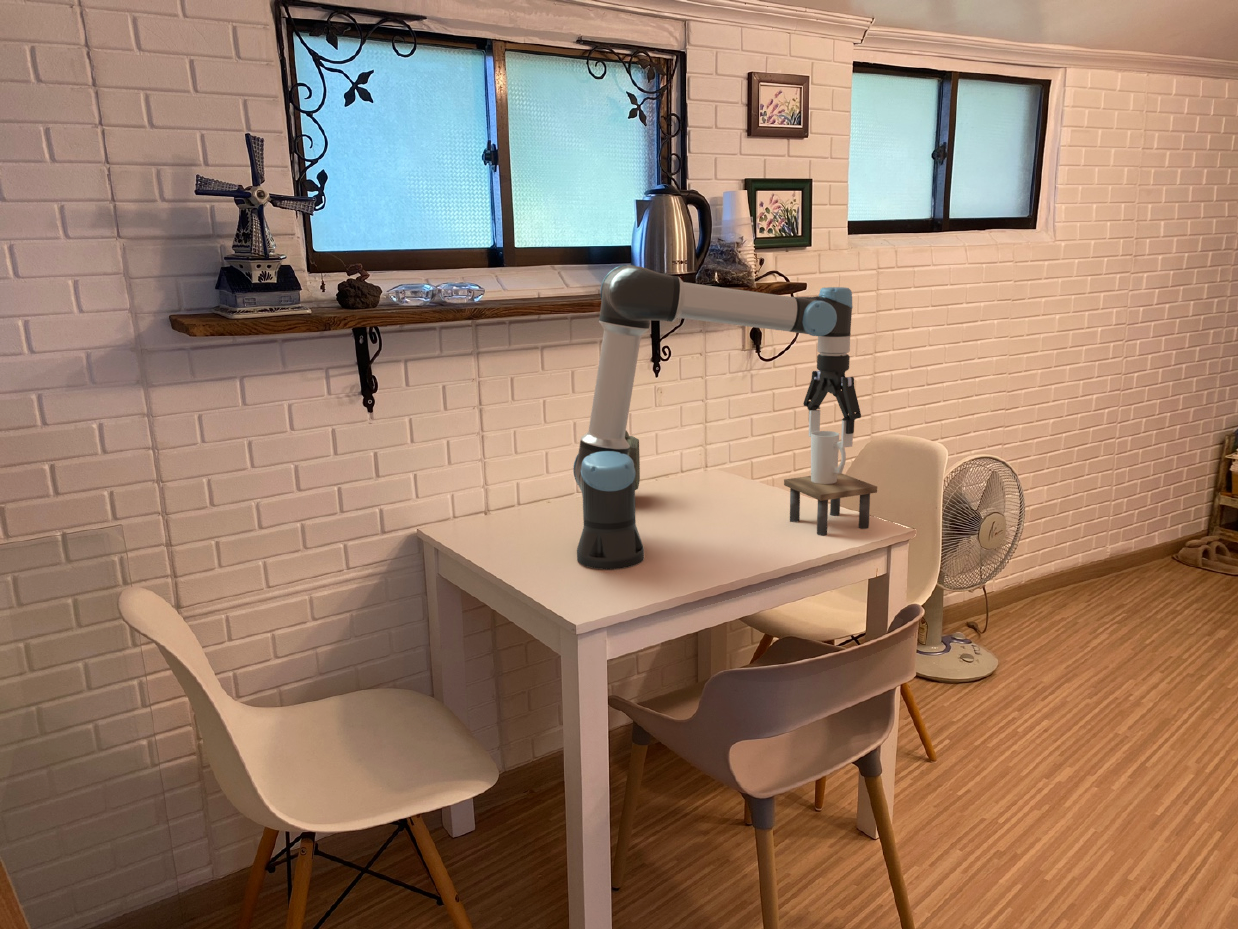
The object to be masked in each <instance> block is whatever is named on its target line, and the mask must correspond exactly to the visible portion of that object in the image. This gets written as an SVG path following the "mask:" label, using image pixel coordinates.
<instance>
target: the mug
mask: <svg viewBox="0 0 1238 929" xmlns="http://www.w3.org/2000/svg"><path fill="white" fill-rule="evenodd" d="M845 448H846V447H844V448H842V447H841V440H840V433H839V432H836V431H832V430H820V431H816V432H812V433H811V437H810V476H811V481H812V482H813V483H817V484H833V483H836V482H837V474H841V473H842V474H843V472H844V468H845V465H846V459H847V457H846V456H847V455H846V454H847V453H846V449H845ZM839 452H840V456H841V459H840V463H839Z"/></svg>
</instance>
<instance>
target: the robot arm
mask: <svg viewBox="0 0 1238 929" xmlns="http://www.w3.org/2000/svg"><path fill="white" fill-rule="evenodd" d="M600 300H601V302H600V303H601V304H600V312H599V317H598V323H599V324H600V325H601V327H602V329H603V335H602V342H601V348H600V355H599V361H598V367H597V372H596V373H597V375H596V380H595V386H594V393H593V394H594V395H593V399H592V405H591V406H592V408H591V412H590V420H589V426H588V431H587V432H586V433H585V434H583V436H581V437H580V441H579V448H578V453H577V455H576V457H575V459H574V462H573V469H572V470H573V471H572V472H573V477H574V480H575V482H576V484H577V486H578V488H579V490H580V491H581V495H582V514H583V515H582V517H583V528H582V531H581V534H580V538H579V542H578V545H577V547H576V548H577V549H576V561H577V562H578V563H579V564H580V565H581V566H584V567H586V568H590V569H596V570H621V569H626V568H627V569H628V568H631V567H634V566H636V565H639V564H640V563H642V562H643V561H644V559H645V547H644V545H643V542H642V539H641V536H640V534H639V531H638V528H637V521H636V490H635V468H634V463H633V460H632V459H631V458H630V457H629V456H628V454H629V448H630V445H629V444H628V442H627V441H626V439H625V432H626V431H627V427H628V426H627V425H628V418H629V412H630V407H631V401H632V400H631V399H632V395H633V387H634V382H635V376H636V370H637V364H638V357H639V352H640V345H641V340H642V336H644V335H645V333H646V332H648V331H650V326H651V325H650V324H651V321H660V322H661V321H662V322H671V323H674V322H675V321H676V320H678V319H686V320H692V321H693V320H695V321H703V322H709V323H710V322H711V323H718V324H727V325H734V326H742V327H750V328H757V329H765V330H766V329H767V330H775V331H781V332H782V331H783V332H789V333H795V334H797V333H798V334H803V335H808V336H812V337H817V345H816V346H817V347H816V348H817V349H816V350H817V352H818V355H817V356H816V369H817V370H812V371H811V380H810V382H809V385H808V389H807V391H806V394H805V397H804V401H803V404H802V405H803V406H804V407H807V410H808V438H809V437H810V438H811V433H812V432H816V431H821V429H820V428H821V405H822V403H823V402H824V399H825V398H826V396H827V395H828V393H829V394H831V395H833V397H835V399H836V401H837V403H838V406H839V409H840V411H841V413H842V416H843V418H842V419H841V434H840V436H841V437H840V441H841V447H842V448H851V447H853V443H854V442H853V439H854V432H855V421H856V420H857V419H861V417H862V413H861V410H860V409H861V408H860V405H859V400H858V397H857V392H856V389H855V378H854V376H846V372H847V371H849V369H850V360H851V359H850V358H851V357H850V355H849V354H848V353H850V351H851V329H852V315H853V313H852V312H853V307H854V306H853V292H852V290H851V289H850V288H849V287H843V286H841V287H839V286H834V287H832V286H831V287H830V286H828V287H822V288H820V290H819V294H818V295H815V296H788V295H787V296H786V295H780V294H775V293H774V294H773V293H766V292H765V293H764V292H758V291H751V290H744V289H743V290H742V289H737V288H728V287H720V286H712V285H708V284H706V285H705V284H700V283H699V284H698V283H692V282H686V281H685V282H684V281H683V279H681V278H680V277H679V276H675V275H669V274H666V273H665V274H664V273H660V272H658V271H655V270H651V269H649V268H646V267H643V266H637V265H634V264H623V265H619V266H617V267H614V268H613V269H612V270H610V271H609V272H608V273H607V274H606V275H605V277H604V278H603V280H602V282H601V285H600Z"/></svg>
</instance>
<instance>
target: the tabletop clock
mask: <svg viewBox="0 0 1238 929" xmlns="http://www.w3.org/2000/svg"><path fill="white" fill-rule="evenodd" d="M629 434H630V433H628V431H627V430H626V432H625V439H626V441H627V442H628V444H629V445H630V448H629V454H628V456H629V457H630V458H631V459H632V460H633V463H634V468H635V491H637V490H638V489H639V486H640V482H641V481H640V480H641V478H640V477H641V467H640V465H641V464H640V460H641V459H640V440H639V438H637V437H635V436H633V435H629Z"/></svg>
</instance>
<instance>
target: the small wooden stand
mask: <svg viewBox="0 0 1238 929" xmlns="http://www.w3.org/2000/svg"><path fill="white" fill-rule="evenodd" d="M783 485H784V486H785V487H788V488H790V492H789V493H790V494H789V521H790V522H791V523H798V522H800V515H801V506H800V505H801V494H804V495H806V496H807V497H810V498H812V499H816V500H817V514H816V515H817V516H816V517H817V518H816V535H817V536H820V537H821V536H827V535H828V521H829V520H828V518H829V516H828V514H829V515H830V516H834V517H836V516H837V517H838V516H840V514H841V513H840V512H841V499H844V498H849V497H856V496H859V504H858V505H859V509H858V528H859V529H862V530H863V529H864V530H865V529H866V530H867V529H869V528H870V505H871V494H876V493H878V486H877V485H875V484H871V483H869V482H866V481H863V480H861V479H858V478H855V477H852V476H849V475H848V474H845V473H843V472H842V473H841V474H837V482H836V483H833V484H817V483H813V482H812V481H811V475H808V476H807V475H806V476H800V477H791V478H784V479H783ZM829 500H830V504H829ZM829 508H830V510H828V509H829ZM829 511H830V512H829Z"/></svg>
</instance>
